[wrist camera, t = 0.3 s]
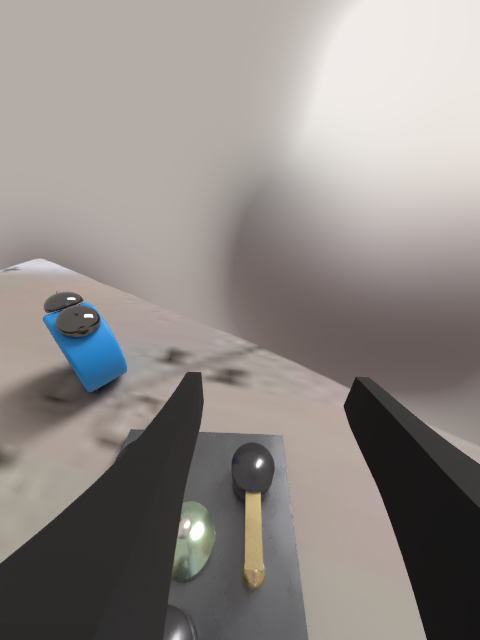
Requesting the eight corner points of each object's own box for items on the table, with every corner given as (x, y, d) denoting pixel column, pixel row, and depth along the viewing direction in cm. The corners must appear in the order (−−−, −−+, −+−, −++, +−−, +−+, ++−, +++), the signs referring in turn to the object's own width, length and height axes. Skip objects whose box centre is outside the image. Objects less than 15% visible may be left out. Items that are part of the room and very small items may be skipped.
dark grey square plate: (325, 808, 12) (336, 830, 11) (-22, 777, 12) (-54, 794, 11) (281, 440, 28) (283, 430, 27) (133, 434, 29) (128, 424, 28)
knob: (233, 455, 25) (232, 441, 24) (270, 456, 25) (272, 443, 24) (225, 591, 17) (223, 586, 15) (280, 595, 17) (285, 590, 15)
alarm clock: (71, 366, 39) (26, 293, 31) (106, 350, 43) (75, 280, 35) (98, 409, 32) (49, 329, 24) (137, 385, 36) (107, 308, 28)
